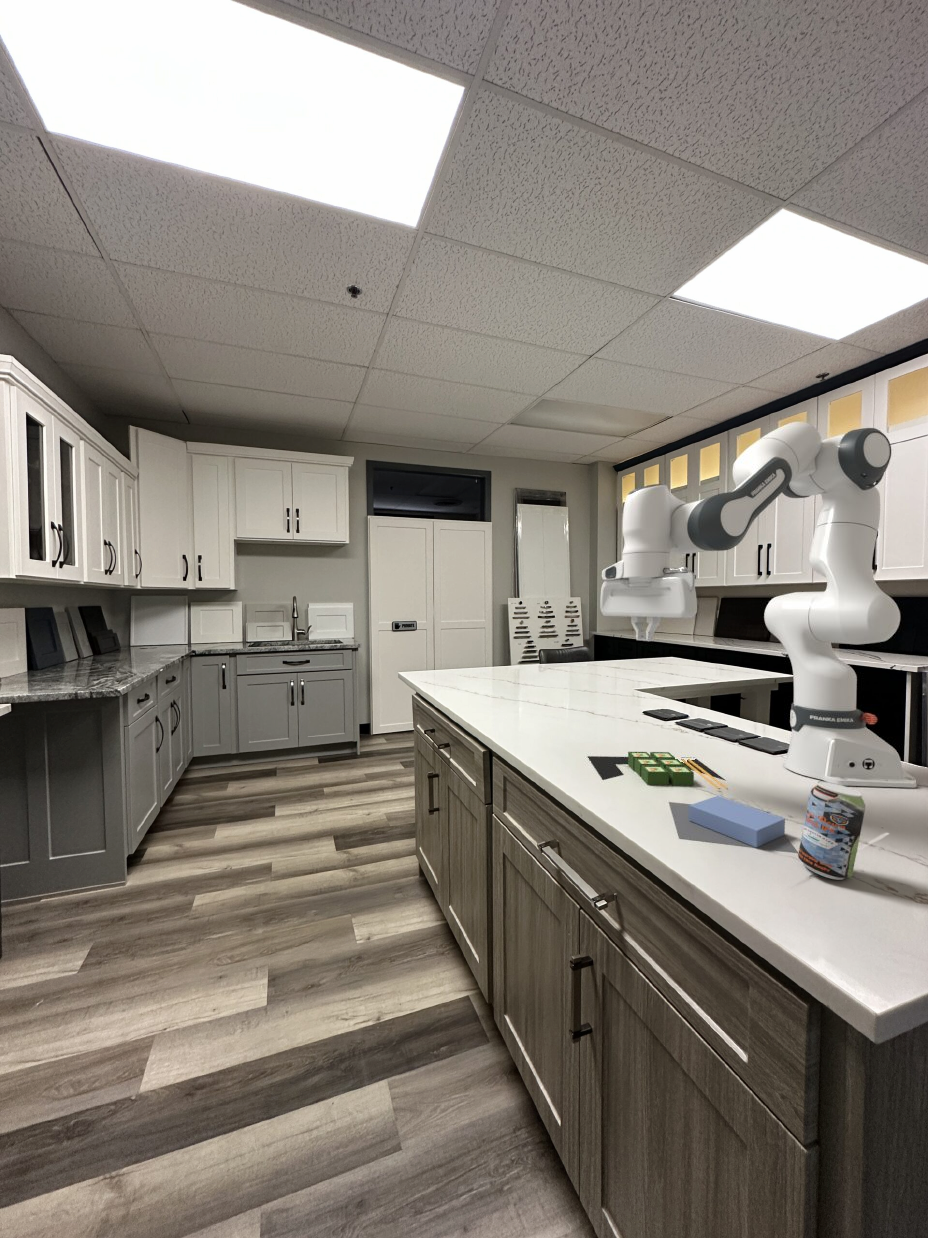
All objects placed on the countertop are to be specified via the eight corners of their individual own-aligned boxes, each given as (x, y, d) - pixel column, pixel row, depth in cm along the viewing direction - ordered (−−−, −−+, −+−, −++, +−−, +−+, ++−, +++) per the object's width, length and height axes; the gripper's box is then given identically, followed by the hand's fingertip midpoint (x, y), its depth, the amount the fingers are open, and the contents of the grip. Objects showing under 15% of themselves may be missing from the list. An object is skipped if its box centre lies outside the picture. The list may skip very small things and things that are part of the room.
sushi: (750, 802, 95) (750, 783, 95) (614, 800, 96) (614, 780, 96) (694, 761, 120) (695, 745, 119) (587, 760, 121) (587, 744, 121)
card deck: (689, 805, 84) (756, 830, 75) (717, 795, 88) (785, 818, 79) (688, 821, 84) (756, 848, 75) (717, 811, 88) (784, 835, 79)
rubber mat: (768, 814, 88) (768, 812, 88) (798, 855, 73) (798, 853, 73) (668, 804, 92) (668, 802, 92) (678, 841, 78) (679, 838, 78)
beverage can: (787, 862, 71) (789, 778, 71) (836, 860, 72) (838, 776, 72) (822, 887, 65) (824, 794, 65) (875, 885, 66) (878, 793, 65)
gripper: (705, 566, 92) (704, 643, 92) (616, 572, 109) (616, 637, 109) (683, 565, 88) (682, 645, 89) (595, 571, 106) (595, 638, 106)
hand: (645, 640), depth 99 cm, fingers closed
